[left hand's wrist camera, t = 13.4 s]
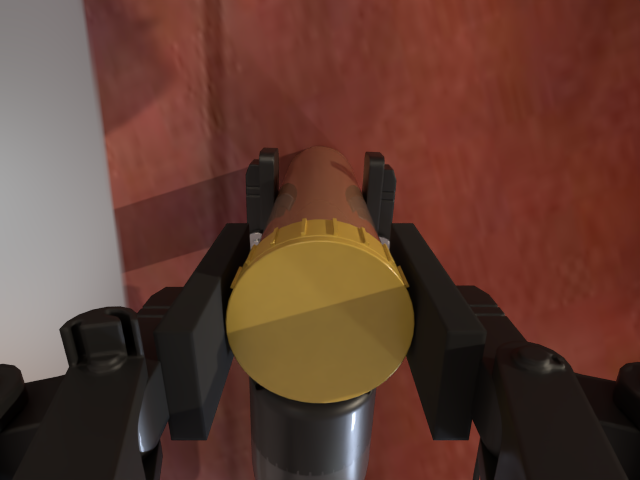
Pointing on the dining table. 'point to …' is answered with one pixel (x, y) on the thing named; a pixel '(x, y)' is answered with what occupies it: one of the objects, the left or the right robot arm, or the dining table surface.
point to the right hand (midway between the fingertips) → (321, 153)
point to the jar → (320, 192)
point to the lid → (319, 312)
